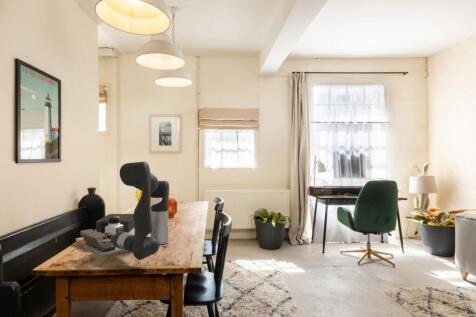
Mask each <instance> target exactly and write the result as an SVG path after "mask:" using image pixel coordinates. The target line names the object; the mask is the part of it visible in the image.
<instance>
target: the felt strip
mask: <svg viewBox="0 0 476 317" xmlns="http://www.w3.org/2000/svg"><path fill="white" fill-rule="evenodd" d="M80 246H81V247H83V248H85V249H88V250H89V251H92V252H94V253H96V254H99V255H101V256H105V255H109V254H113V253H117V252H122V251H123V250H122V249H119V248H117V247H116V248H115V250H111V251H107V252H102V251H101V250H98V249H97V248H93V247H92V246H88V244H87V245H84V244H82V245H80Z"/></svg>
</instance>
